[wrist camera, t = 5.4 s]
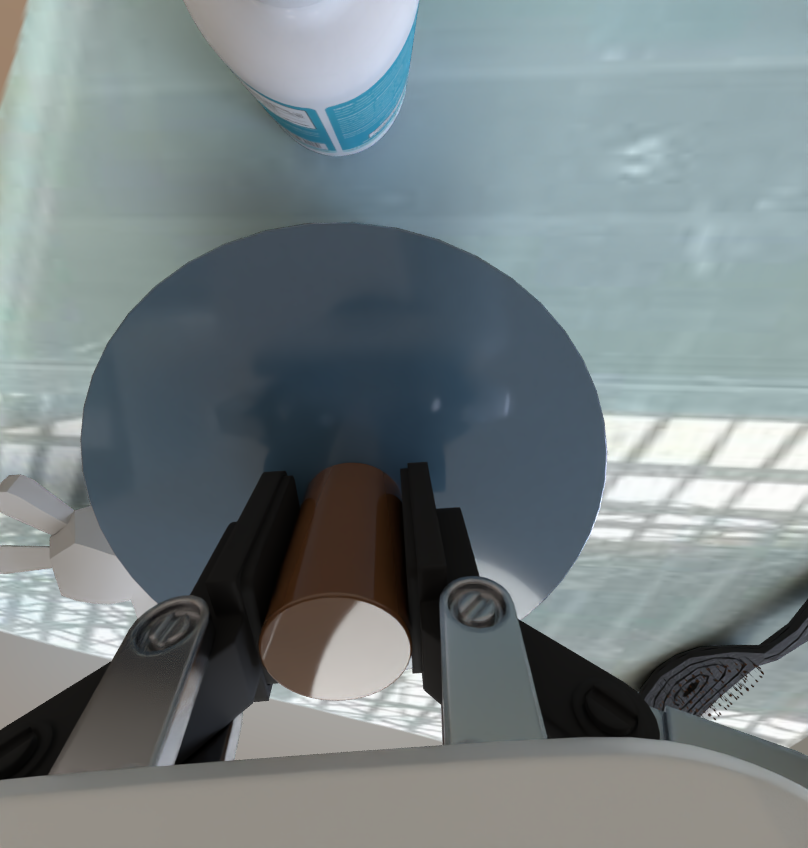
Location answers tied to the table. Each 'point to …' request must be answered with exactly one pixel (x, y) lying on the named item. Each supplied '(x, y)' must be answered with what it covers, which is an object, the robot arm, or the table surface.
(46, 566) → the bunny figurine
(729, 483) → the table surface
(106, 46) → the table surface
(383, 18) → the pill bottle
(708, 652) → the hairbrush
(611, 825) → the robot arm
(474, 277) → the lid
